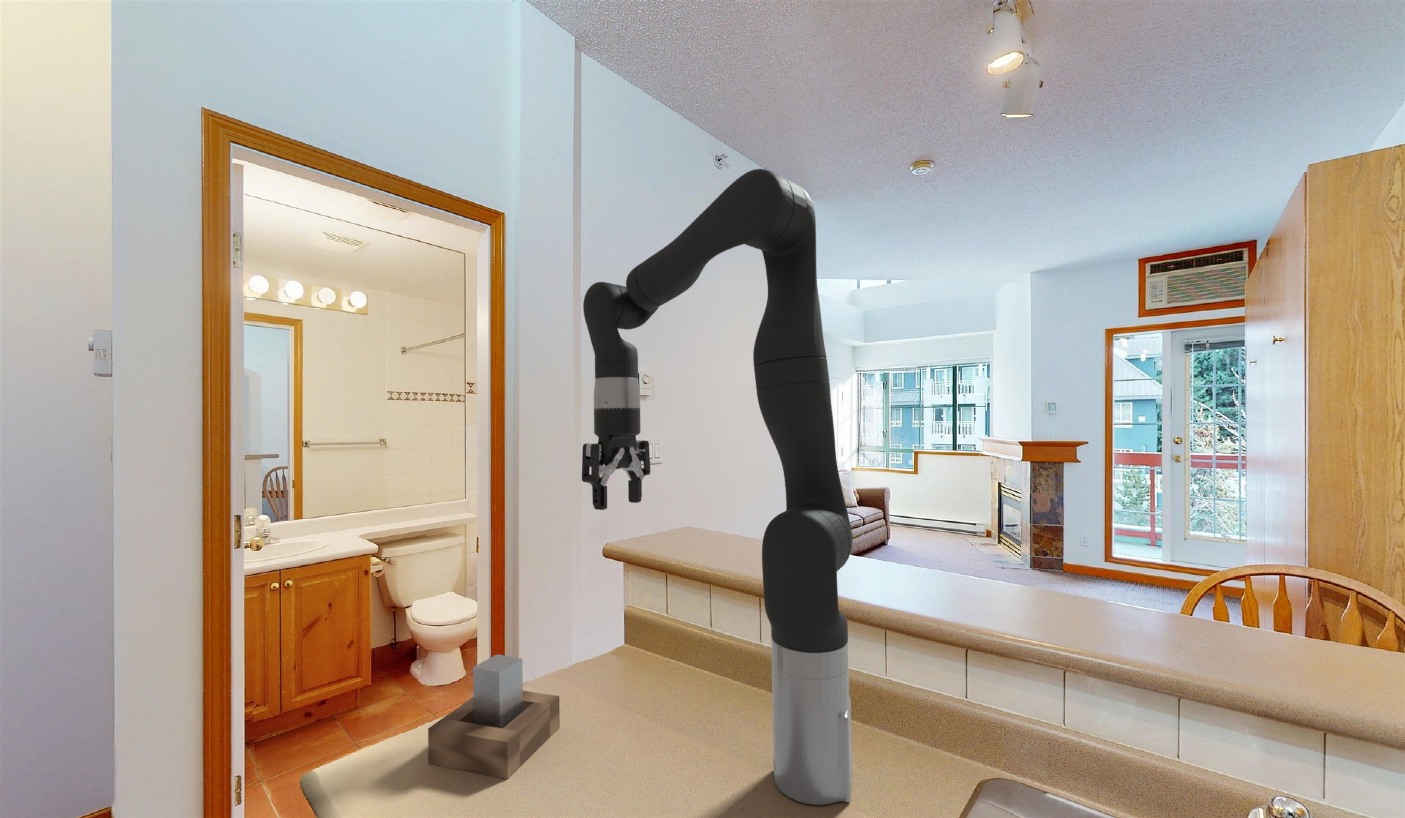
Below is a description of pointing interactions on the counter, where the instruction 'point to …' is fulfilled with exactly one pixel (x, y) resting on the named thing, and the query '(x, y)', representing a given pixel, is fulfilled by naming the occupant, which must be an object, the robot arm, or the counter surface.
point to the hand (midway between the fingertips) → (618, 505)
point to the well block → (493, 737)
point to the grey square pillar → (497, 691)
